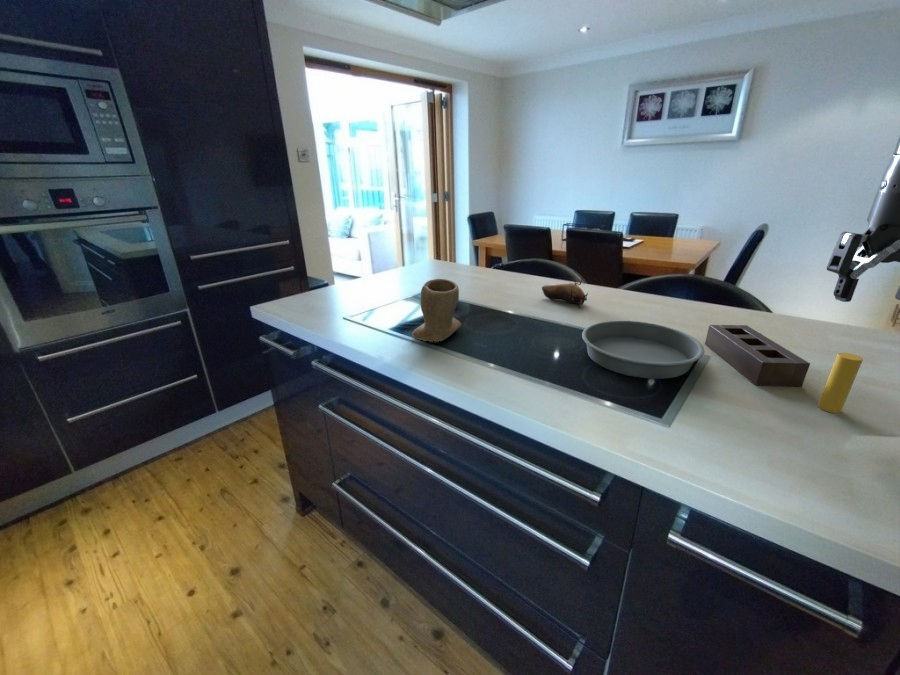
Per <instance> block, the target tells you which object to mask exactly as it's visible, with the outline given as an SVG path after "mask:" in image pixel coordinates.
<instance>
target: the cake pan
mask: <svg viewBox="0 0 900 675" xmlns="http://www.w3.org/2000/svg"><path fill="white" fill-rule="evenodd" d="M581 338H582V340H583V341H584V343H585V344H586V350H587V355H588V357H589V358H590V359H591V360H592V361H593V362H594V363H596V364H597V365H598V366H599V367H602V368H604V369H606V370H607V371H611V372H614V373H616V374H617V373H618V374H620V375H623V376H627V377H633V378H640V379H648V380H649V379H650V380H664V379H665V380H666V379H673V378H677V377H680V376H683V375H685V374H686V373H688V372H689V371H690V369H691V367H692V366H693V364H694V363H695V362H696V361H699V360H700V359H701V358H703V356H704V355H705V348H704V345H703V343H701V342H700V341H699V340H698V339H697V338H695V337H693V336H691V335H690V334H688V333H686V332H683V331H681V330H679V329H677V328H673V327H669V326H666V325H662V324H657V323H651V322H645V321H638V320H608V321H601V322H597V323H596V322H595V323H593V324H591V325H589V326H587V327H585V329H583V331H582V334H581Z"/></svg>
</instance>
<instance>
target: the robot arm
mask: <svg viewBox="0 0 900 675" xmlns="http://www.w3.org/2000/svg"><path fill="white" fill-rule="evenodd" d="M894 147H895V148H894V151H893V155H892V156H891V158H890V160H889V162H888V164H887V166H886V167H885V170H884V171H883V174H882V176H881V179H880V182H879V185H878V188H877V190H876V194H875V196H874V198H873V202H872V204H871V207H870V210H869V213H868V215H867V219H866V221H867V224H868V227H867V229H866V230H865V231H864V232H863V233H857V232H856V233H855V232H850V231H842V232H841V233H839V235H838V238H837V241H836V243H835V246H834V248H833V250H832V253H831V255H830V258H829V260H828V263H827V265H826V271H828V272H831V273H834V274H837V275H838V279H837V281H836V284H835V287H834V290H833V296H834V299H835V300H837V301H840V302H843V303H850V302H851V301H852V300H853V296H854V294H855V292H856V289H857V285H858V283H859V280H860V279H859V277H860V276H862V275H863V274H864V273H866V272H867V271H868V270H869V269H873V268H875V267H877V265H879V264H880V263H882V264H889V263H893V262H896V263H900V135H899V137H898V139H897V141H896V144H895V146H894ZM894 297H895V299H896V300H898V301H900V285H899V286H898V288H897V291H896V293H895V295H894Z"/></svg>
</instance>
